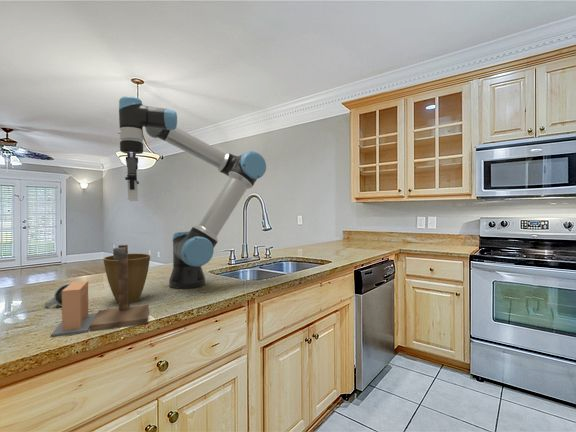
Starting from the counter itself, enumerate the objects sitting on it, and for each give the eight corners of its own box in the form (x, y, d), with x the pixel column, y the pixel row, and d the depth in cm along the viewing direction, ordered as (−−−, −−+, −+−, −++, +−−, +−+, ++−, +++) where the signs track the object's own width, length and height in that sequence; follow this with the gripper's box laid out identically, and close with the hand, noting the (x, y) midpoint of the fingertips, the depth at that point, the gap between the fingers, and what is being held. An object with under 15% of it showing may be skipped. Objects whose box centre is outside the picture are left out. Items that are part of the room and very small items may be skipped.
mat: (97, 314, 96) (97, 312, 96) (87, 332, 82) (87, 329, 82) (66, 318, 93) (66, 316, 93) (50, 336, 79) (50, 334, 79)
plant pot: (97, 301, 110) (96, 256, 110) (139, 293, 122) (139, 252, 122) (114, 309, 101) (113, 260, 101) (158, 299, 112) (157, 255, 112)
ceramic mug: (83, 299, 113) (82, 278, 113) (82, 305, 106) (81, 282, 106) (46, 304, 108) (45, 282, 108) (43, 310, 101) (42, 287, 101)
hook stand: (148, 309, 101) (147, 242, 101) (147, 324, 88) (146, 247, 87) (98, 315, 96) (98, 244, 95) (89, 332, 82) (88, 250, 82)
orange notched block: (72, 317, 92) (72, 282, 92) (88, 315, 93) (88, 281, 93) (62, 330, 82) (61, 291, 82) (80, 328, 83) (79, 289, 83)
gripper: (122, 147, 122) (123, 201, 122) (116, 132, 99) (118, 198, 100) (143, 148, 125) (144, 201, 126) (142, 134, 102) (144, 198, 103)
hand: (133, 200), depth 113 cm, fingers open, 13 cm apart
